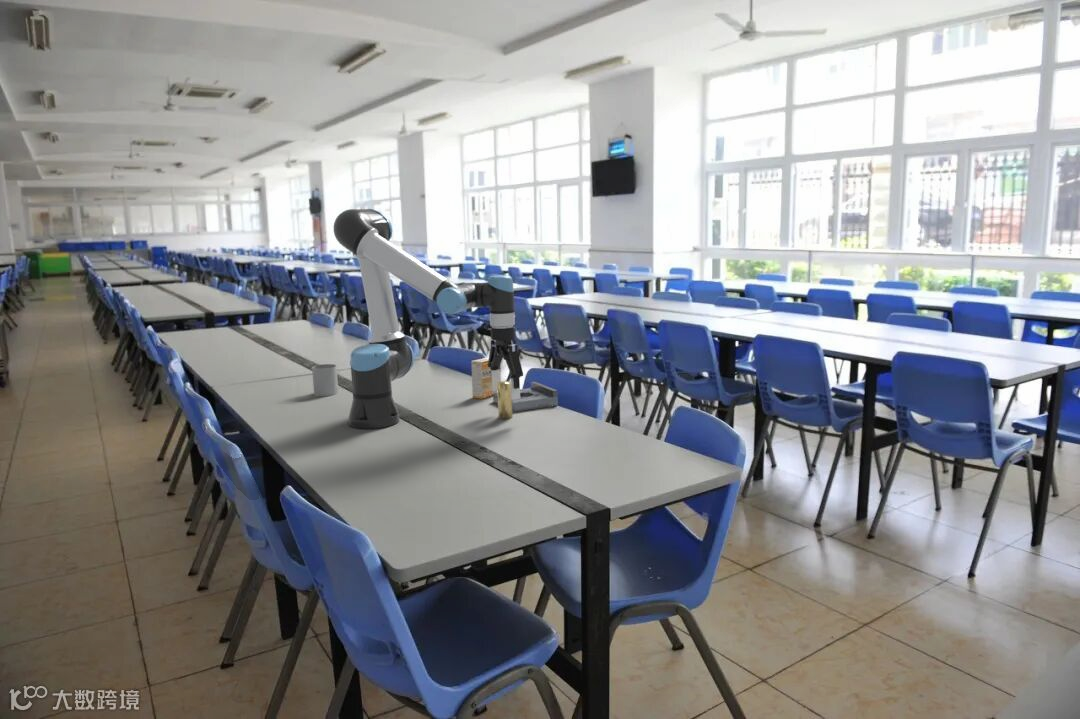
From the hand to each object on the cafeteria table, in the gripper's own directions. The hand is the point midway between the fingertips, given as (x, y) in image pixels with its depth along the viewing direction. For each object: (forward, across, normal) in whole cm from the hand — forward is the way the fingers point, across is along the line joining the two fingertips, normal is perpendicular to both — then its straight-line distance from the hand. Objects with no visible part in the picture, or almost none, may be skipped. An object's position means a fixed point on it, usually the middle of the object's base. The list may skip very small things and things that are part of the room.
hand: (506, 394), depth 231 cm
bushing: (+7, 0, 0) cm, 7 cm away
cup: (+6, +64, +41) cm, 77 cm away
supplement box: (+7, +29, -6) cm, 31 cm away
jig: (+7, +12, -13) cm, 19 cm away
